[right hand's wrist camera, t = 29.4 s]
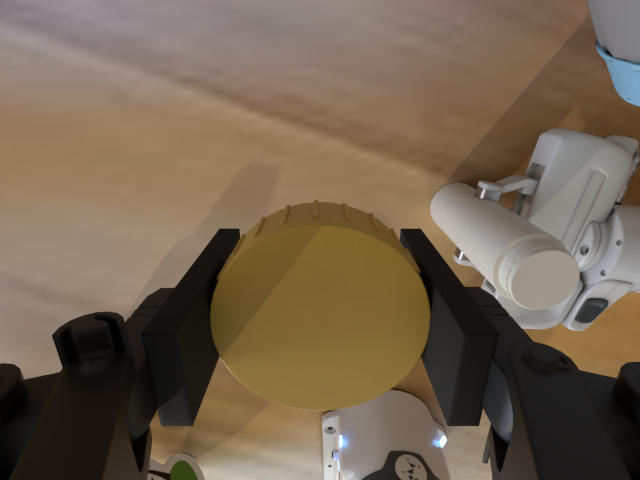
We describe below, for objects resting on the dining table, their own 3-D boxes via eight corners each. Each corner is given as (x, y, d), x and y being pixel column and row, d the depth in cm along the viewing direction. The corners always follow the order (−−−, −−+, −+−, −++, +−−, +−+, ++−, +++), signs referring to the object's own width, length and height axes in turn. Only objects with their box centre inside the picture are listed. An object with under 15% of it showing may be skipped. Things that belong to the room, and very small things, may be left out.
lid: (368, 386, 14) (376, 434, 12) (204, 336, 13) (183, 379, 11) (449, 241, 11) (476, 271, 9) (258, 168, 11) (243, 184, 9)
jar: (425, 226, 42) (494, 312, 25) (435, 180, 40) (517, 240, 23) (471, 230, 42) (570, 318, 26) (484, 184, 40) (599, 247, 24)
